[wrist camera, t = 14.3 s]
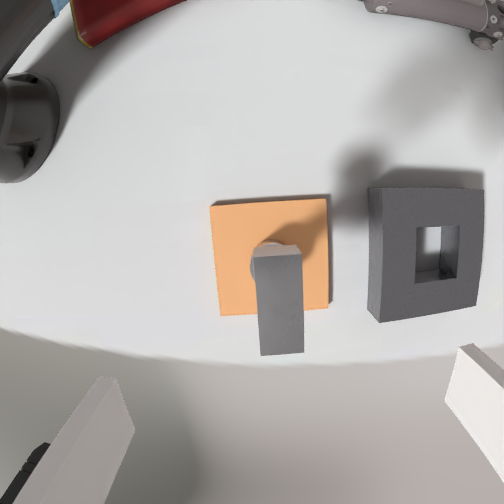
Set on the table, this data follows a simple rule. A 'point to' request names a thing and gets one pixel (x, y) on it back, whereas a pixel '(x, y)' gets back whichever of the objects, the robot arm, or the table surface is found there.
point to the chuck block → (404, 251)
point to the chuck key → (279, 297)
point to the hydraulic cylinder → (452, 15)
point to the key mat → (260, 229)
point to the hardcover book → (111, 16)
